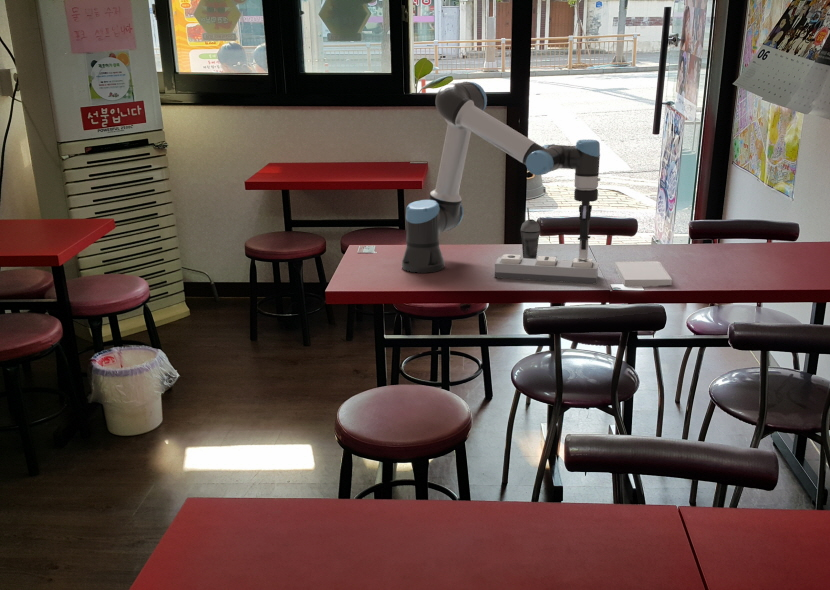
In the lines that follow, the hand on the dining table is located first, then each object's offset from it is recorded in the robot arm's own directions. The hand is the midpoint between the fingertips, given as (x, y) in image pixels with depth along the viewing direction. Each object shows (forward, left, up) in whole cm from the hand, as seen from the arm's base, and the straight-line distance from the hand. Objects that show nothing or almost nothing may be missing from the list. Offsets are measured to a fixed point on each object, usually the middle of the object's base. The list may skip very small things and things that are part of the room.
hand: (583, 258), depth 271 cm
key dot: (-24, 0, -3) cm, 24 cm away
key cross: (0, 0, -3) cm, 3 cm away
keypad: (-12, 0, -7) cm, 14 cm away
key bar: (-12, 0, -3) cm, 13 cm away
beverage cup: (-20, +19, -8) cm, 29 cm away
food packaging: (+19, +6, -8) cm, 22 cm away
